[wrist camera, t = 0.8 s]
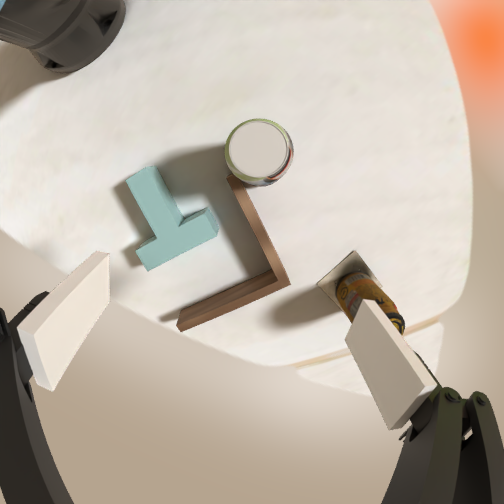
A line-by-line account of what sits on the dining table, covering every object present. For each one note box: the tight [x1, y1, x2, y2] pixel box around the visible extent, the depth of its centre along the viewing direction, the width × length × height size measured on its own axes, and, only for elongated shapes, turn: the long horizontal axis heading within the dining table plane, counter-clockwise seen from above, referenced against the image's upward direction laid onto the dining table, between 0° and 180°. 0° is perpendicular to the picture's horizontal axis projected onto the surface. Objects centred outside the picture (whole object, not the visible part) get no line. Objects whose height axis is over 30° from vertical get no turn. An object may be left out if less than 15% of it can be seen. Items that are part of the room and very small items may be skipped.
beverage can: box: [225, 119, 294, 186], centre depth 27 cm, size 6×7×12 cm
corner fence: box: [176, 173, 291, 332], centre depth 35 cm, size 15×16×4 cm
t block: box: [125, 166, 219, 271], centre depth 33 cm, size 11×10×4 cm
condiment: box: [317, 251, 405, 335], centre depth 34 cm, size 7×8×12 cm
